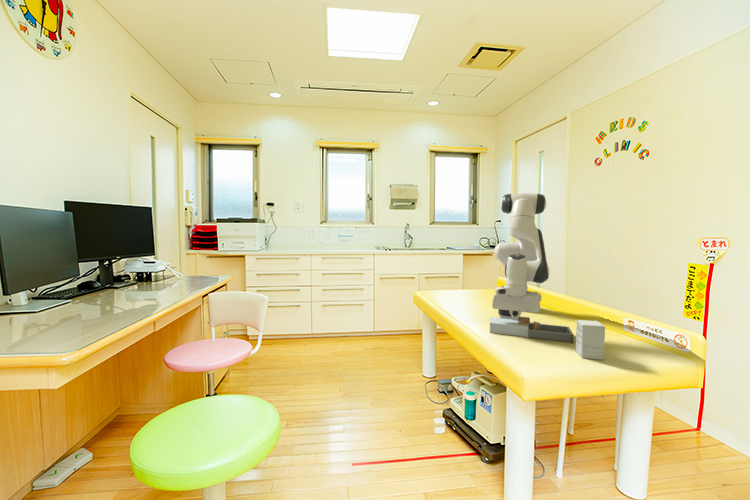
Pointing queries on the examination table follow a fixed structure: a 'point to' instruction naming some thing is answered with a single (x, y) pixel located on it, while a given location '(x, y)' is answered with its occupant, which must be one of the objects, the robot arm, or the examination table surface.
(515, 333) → the pale grey flat block
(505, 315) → the pump dispenser
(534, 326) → the tile
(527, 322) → the tile
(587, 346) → the supplement box
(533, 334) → the tray
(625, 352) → the examination table surface
